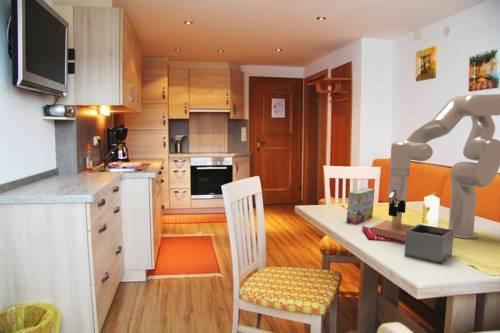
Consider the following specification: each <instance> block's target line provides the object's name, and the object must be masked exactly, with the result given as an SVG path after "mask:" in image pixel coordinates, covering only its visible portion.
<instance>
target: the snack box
mask: <svg viewBox="0 0 500 333" xmlns="http://www.w3.org/2000/svg"><path fill="white" fill-rule="evenodd" d="M375 190H376V189H374V188H371V187H370V188H369V187H363V188H359V189H355V190H352V191H349V192H348V199H347V214H346V223H347V224H351V225H356V226H357V225H359V224H361V223H363V222H366V221H367V220H368V221H369V219H372V218H373V213H374V202H375V200H374V199H375Z"/></svg>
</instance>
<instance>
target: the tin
mask: <svg viewBox="0 0 500 333" xmlns="http://www.w3.org/2000/svg"><path fill="white" fill-rule="evenodd" d="M413 226H414V227H412V228H410V229H409V230H407V231H406V240H405V243H404V255H403V256H404V257H407V258H411V259H417V260H420V261H425V262H429V263H433V264H438V265H442V264H443V263H445V262H446V261H447V260H448V258H450V257H451V256H452V254H453V246H454V245H453V243H454V237H453V233H454V230H450V229H449V228H443V227H439V226H433V225H427V224H426V225H425V224H419V223H418V224H416V225H413Z"/></svg>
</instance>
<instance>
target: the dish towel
mask: <svg viewBox="0 0 500 333" xmlns="http://www.w3.org/2000/svg"><path fill="white" fill-rule="evenodd" d="M361 229H362V231H363V232H364V234H365V236H366V238H367V240H368V241H373V242H374V241H376V242H389V243H390V242H392V243H404V244H405V241H401V240H397V239H393V238H389V237H385V236H381V235H377V234H372V233H371V230H372V227H368V226H364V225H362V227H361Z"/></svg>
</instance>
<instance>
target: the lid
mask: <svg viewBox="0 0 500 333" xmlns="http://www.w3.org/2000/svg"><path fill="white" fill-rule="evenodd" d="M391 217H392V218H391V220H388V219H387V220H384V221H382V222H380V223H378V224H375V225H373V226H371V228H372V230H371V233H372V234H377V235H381V236H385V237H389V238H393V239H397V240H401V241H405V240H406V231H407V230H409V229H410V228H412V227H414V226H415V225H412V224H411V225H410V224H407V223H402V218H403V213H400V212H397V216H396V217H395V216H391Z"/></svg>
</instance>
